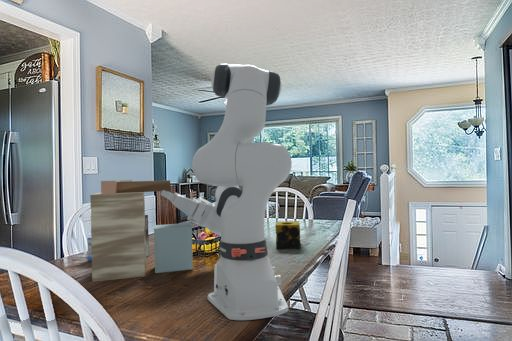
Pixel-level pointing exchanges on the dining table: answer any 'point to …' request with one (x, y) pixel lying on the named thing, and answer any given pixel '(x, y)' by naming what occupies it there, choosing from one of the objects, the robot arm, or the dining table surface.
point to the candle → (288, 235)
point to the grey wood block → (118, 236)
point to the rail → (143, 186)
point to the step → (173, 247)
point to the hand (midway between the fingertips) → (161, 191)
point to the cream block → (124, 180)
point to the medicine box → (89, 249)
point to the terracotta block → (108, 187)
